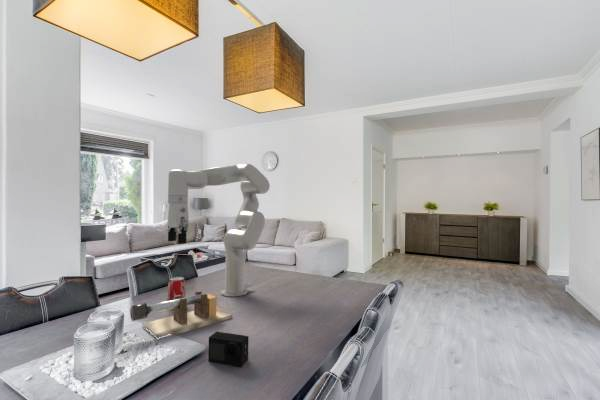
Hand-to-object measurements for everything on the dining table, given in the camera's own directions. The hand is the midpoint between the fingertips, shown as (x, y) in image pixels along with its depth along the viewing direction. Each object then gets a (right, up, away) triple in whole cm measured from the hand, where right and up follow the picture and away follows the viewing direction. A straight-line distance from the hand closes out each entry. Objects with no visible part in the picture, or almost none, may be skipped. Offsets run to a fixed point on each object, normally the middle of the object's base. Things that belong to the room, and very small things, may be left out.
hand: (176, 242), depth 122 cm
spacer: (+14, -24, -5) cm, 28 cm away
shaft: (+4, -23, -16) cm, 28 cm away
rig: (+9, -28, -10) cm, 32 cm away
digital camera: (+30, -29, -38) cm, 56 cm away
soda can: (-3, -29, +6) cm, 29 cm away
